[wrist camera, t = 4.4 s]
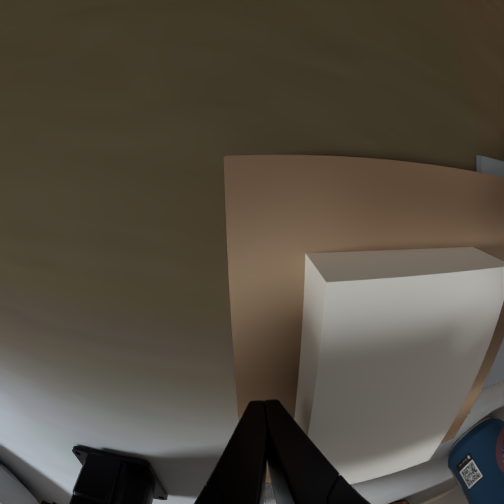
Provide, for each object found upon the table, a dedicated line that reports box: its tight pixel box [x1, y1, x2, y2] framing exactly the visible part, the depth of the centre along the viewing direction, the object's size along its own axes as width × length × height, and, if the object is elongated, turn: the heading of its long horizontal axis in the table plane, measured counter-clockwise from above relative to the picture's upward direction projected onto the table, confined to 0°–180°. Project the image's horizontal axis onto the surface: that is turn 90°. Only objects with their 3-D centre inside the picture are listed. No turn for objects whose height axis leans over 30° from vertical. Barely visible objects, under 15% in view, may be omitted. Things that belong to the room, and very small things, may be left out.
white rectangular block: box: [294, 247, 504, 484], centre depth 8 cm, size 9×6×2 cm, turn 1°
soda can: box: [448, 418, 504, 504], centre depth 12 cm, size 7×7×12 cm
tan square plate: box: [224, 155, 504, 483], centre depth 11 cm, size 14×12×4 cm
